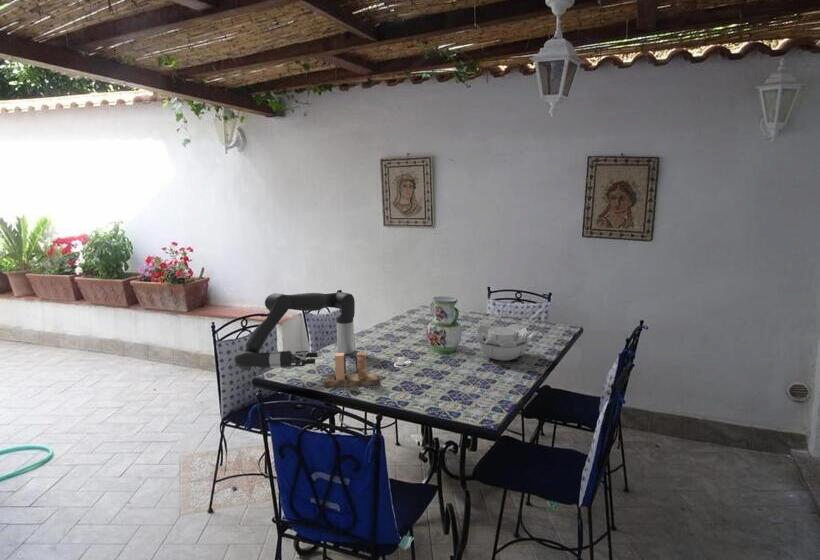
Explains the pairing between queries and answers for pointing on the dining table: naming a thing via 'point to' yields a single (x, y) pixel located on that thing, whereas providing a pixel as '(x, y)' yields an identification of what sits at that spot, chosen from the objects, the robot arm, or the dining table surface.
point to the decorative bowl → (502, 341)
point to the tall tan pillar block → (340, 366)
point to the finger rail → (354, 375)
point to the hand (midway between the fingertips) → (316, 357)
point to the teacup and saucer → (402, 362)
